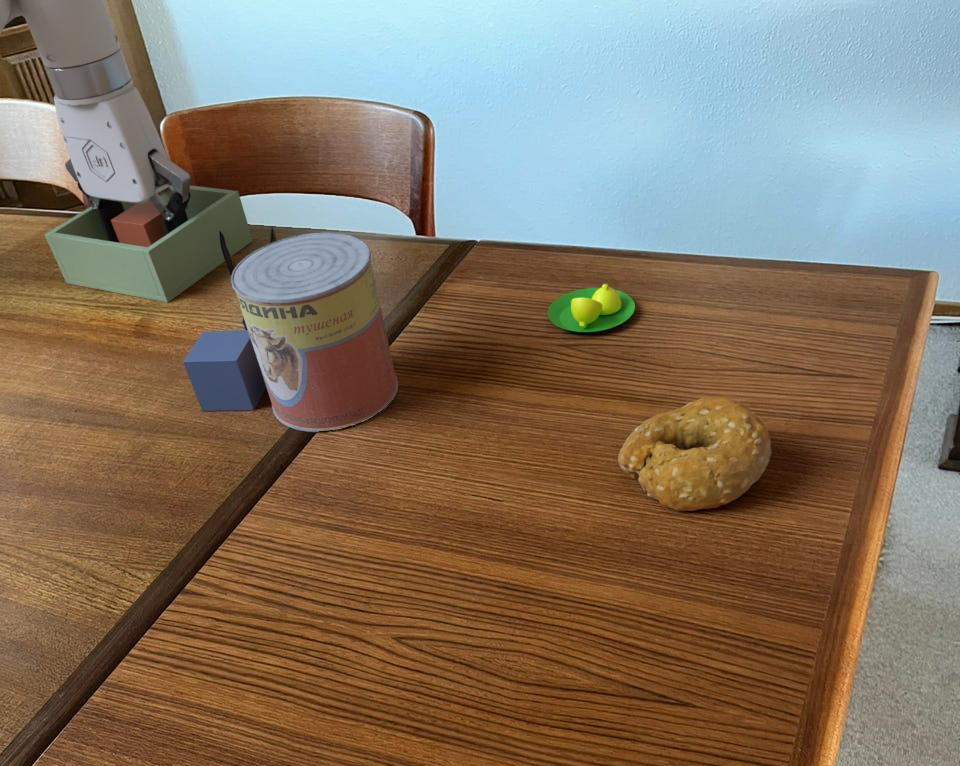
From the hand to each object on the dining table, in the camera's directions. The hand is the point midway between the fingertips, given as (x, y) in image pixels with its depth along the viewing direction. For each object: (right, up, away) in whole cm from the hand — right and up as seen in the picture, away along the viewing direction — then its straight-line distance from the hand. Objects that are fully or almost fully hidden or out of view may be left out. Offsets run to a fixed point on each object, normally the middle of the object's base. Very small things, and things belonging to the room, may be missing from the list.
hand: (153, 245), depth 108 cm
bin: (0, -1, +1) cm, 2 cm away
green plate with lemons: (+47, -14, -18) cm, 52 cm away
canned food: (+24, -22, -22) cm, 40 cm away
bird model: (+15, -12, -11) cm, 22 cm away
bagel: (+52, -32, -36) cm, 71 cm away
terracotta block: (0, -1, +1) cm, 1 cm away
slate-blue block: (+14, -22, -20) cm, 33 cm away
